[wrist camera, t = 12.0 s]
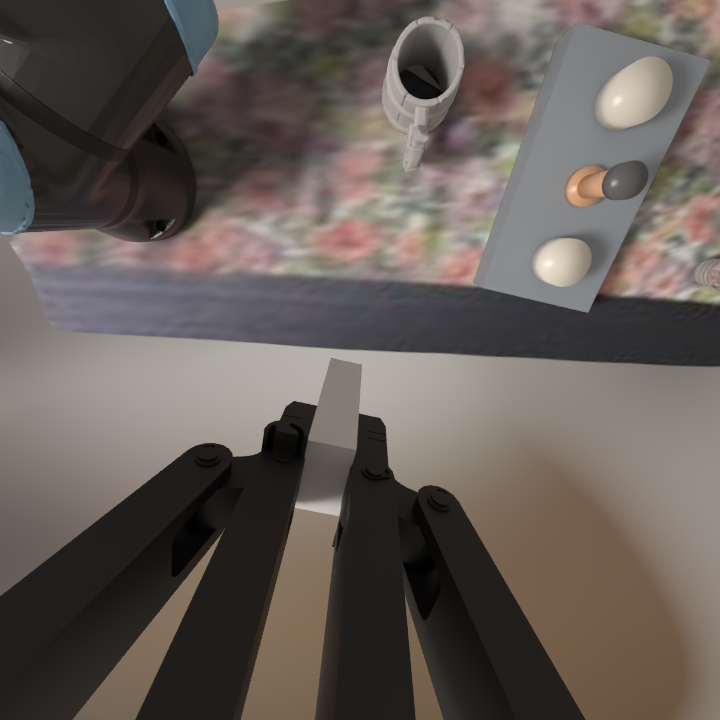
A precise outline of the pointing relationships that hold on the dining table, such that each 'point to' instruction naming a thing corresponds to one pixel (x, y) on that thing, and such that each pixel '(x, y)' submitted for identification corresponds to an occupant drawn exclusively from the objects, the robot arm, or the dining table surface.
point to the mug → (414, 52)
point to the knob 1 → (561, 261)
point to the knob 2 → (634, 94)
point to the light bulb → (708, 273)
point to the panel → (579, 164)
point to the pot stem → (606, 183)
